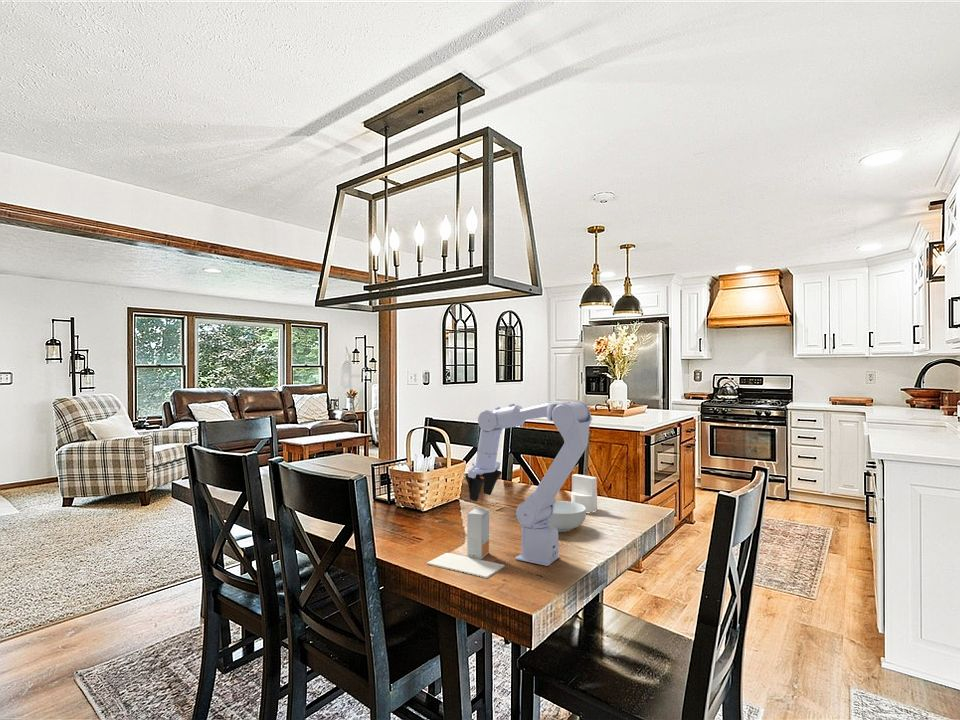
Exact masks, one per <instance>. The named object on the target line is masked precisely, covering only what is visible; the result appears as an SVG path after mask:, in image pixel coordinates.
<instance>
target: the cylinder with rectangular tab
mask: <svg viewBox="0 0 960 720" xmlns="http://www.w3.org/2000/svg"><path fill="white" fill-rule="evenodd" d="M597 481H598V479H597V477H596V476H591V475H590V476H589V475H586V474H585V475H584V474H578V473H574V474H572V475H571V493H570V494H571V495H570V496H571V500H570V502H574V503H578V504H581V505H583V506H585V507H586V512H593V511H595V510H597V511H598V494H597V493H598V492H597V491H598V490H597V488H598V487H597Z"/></svg>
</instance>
